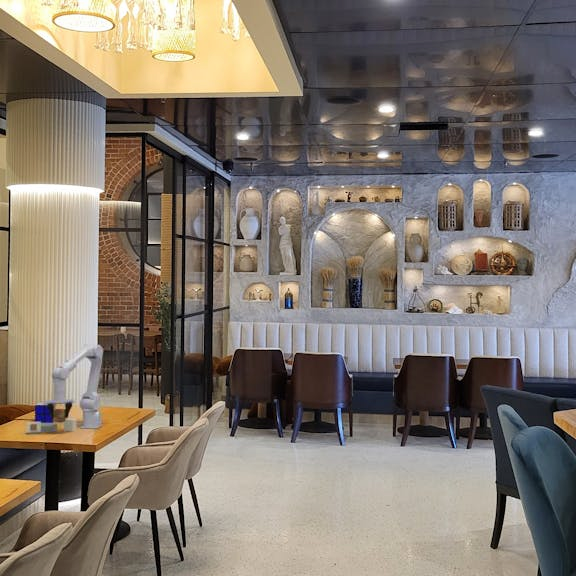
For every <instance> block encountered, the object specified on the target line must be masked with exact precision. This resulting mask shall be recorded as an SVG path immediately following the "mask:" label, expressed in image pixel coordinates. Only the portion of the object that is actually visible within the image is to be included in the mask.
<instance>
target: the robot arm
mask: <svg viewBox="0 0 576 576" xmlns="http://www.w3.org/2000/svg"><path fill="white" fill-rule="evenodd" d="M103 355H104V348H103V347H102V346H101V344H87V343H85V344H83V345H82V346H81V348H80V350H79V351H78V352H77V353H76V354H75V355H74V356H73V357H72V358H67V359H66V360H65V362H63V363H62V364H60V365H59V367H55V368H54V369H53V370H52V372H51V377H52V381H53V399H52V400H45V401H44V402H45V405H47V408H48V410H49V412H50V416H51V419H53V410H54V406H53V405H54V404H56V405H64V407H65V408H64V409H66V419H67V418H69V415H70V412H71V409H72V407H73V404H75V399H74V398H71V399H70V398H69V399H68V398H67V399H66V393H67V392H66V390H67V379H68V377H69V376H70V373H72V371H73V370H75V369H76V368H77V364H78V363H80V362H81V361H83V360H84V358H86V359H87V360H88V361H90V363H91V364H90V367H89V368H90V369H89V374H88V379H87V380H88V382H87V386H86V391H85V392H84V393H83V394H82V395H81V399H80V401H79V407H80V408H81V411H82V425H81V426H80V427H79V428H80V429H99V428H101V427H103V425H102V424H103V423H102V420H103V419H102V412H101V410H99V409H100V407H101V395H99V394H98V387H99V381H100V376H101V372H102V371H101V370H102V363H103Z"/></svg>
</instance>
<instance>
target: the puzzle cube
mask: <svg viewBox="0 0 576 576" xmlns="http://www.w3.org/2000/svg"><path fill="white" fill-rule="evenodd" d="M53 406H54V410H56V409H57V404H54V405H53ZM34 422H41V423H55V422H53V419H51V416H50V412H49V410H48V408H47V405H45V401H44V402H37V403H36V404H35V406H34Z"/></svg>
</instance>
